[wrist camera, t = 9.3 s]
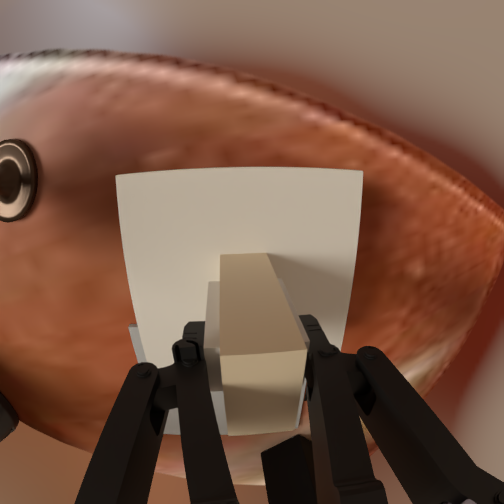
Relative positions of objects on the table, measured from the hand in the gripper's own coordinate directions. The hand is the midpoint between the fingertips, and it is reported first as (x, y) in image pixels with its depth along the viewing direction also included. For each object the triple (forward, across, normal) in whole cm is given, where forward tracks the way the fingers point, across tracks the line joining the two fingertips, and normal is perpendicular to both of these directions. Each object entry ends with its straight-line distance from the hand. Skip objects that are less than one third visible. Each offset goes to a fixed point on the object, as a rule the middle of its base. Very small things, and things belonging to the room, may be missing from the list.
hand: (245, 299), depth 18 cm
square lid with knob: (+2, 0, 0) cm, 2 cm away
